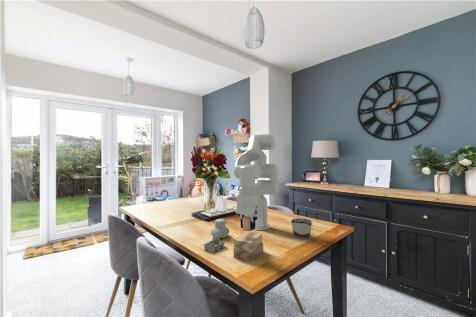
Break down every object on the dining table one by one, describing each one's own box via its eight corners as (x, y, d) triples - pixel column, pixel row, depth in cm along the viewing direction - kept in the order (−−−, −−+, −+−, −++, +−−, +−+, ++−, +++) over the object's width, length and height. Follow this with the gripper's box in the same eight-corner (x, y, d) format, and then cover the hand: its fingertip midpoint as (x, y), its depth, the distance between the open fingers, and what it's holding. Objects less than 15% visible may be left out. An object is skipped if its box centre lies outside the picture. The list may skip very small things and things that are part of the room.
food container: (314, 236, 132) (314, 219, 132) (312, 240, 127) (312, 222, 126) (294, 233, 138) (293, 217, 138) (290, 236, 133) (290, 219, 133)
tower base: (233, 257, 107) (233, 248, 107) (248, 248, 118) (247, 239, 118) (249, 262, 102) (249, 253, 102) (263, 252, 113) (263, 243, 113)
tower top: (234, 249, 106) (233, 239, 106) (246, 239, 118) (246, 231, 118) (251, 252, 102) (251, 243, 102) (262, 242, 114) (262, 233, 113)
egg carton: (217, 243, 124) (217, 236, 124) (226, 247, 119) (226, 239, 119) (201, 249, 117) (201, 241, 117) (210, 253, 112) (210, 245, 112)
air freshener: (220, 241, 127) (220, 223, 127) (209, 238, 131) (208, 221, 131) (231, 235, 136) (230, 218, 136) (219, 232, 141) (219, 216, 141)
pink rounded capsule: (240, 229, 109) (240, 217, 109) (246, 227, 113) (246, 215, 113) (249, 231, 106) (249, 219, 106) (254, 228, 110) (254, 216, 110)
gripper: (228, 190, 111) (229, 227, 111) (258, 193, 101) (258, 234, 101) (238, 188, 117) (238, 223, 117) (266, 191, 107) (267, 229, 107)
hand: (247, 227), depth 109 cm, fingers closed on pink rounded capsule, 5 cm apart
